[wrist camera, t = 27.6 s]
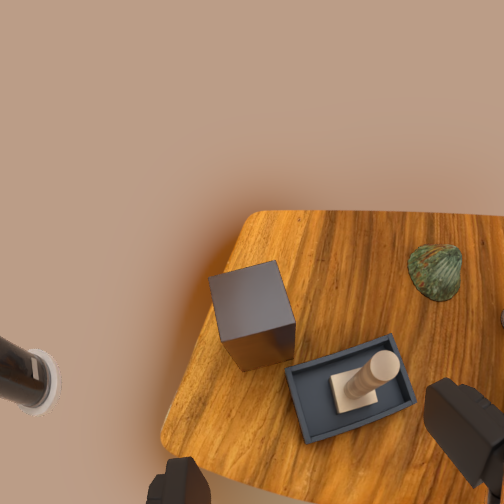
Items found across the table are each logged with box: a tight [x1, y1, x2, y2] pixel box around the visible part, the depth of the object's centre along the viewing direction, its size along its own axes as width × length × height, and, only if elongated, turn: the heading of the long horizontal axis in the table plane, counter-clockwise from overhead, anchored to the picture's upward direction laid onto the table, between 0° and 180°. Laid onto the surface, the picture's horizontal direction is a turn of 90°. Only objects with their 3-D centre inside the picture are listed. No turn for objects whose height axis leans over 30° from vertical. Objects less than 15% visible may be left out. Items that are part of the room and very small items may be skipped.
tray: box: [285, 333, 417, 444], centre depth 35 cm, size 14×10×3 cm
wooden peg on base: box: [328, 350, 400, 415], centre depth 29 cm, size 5×5×16 cm
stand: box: [208, 260, 296, 372], centre depth 36 cm, size 7×7×14 cm
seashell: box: [408, 244, 462, 301], centre depth 42 cm, size 10×4×10 cm
